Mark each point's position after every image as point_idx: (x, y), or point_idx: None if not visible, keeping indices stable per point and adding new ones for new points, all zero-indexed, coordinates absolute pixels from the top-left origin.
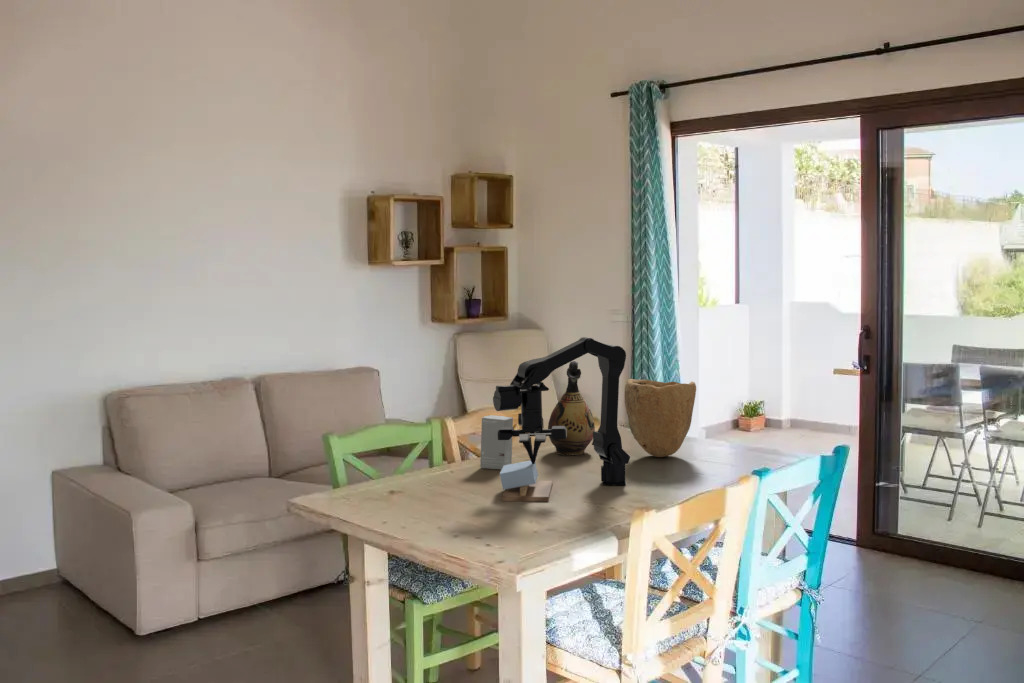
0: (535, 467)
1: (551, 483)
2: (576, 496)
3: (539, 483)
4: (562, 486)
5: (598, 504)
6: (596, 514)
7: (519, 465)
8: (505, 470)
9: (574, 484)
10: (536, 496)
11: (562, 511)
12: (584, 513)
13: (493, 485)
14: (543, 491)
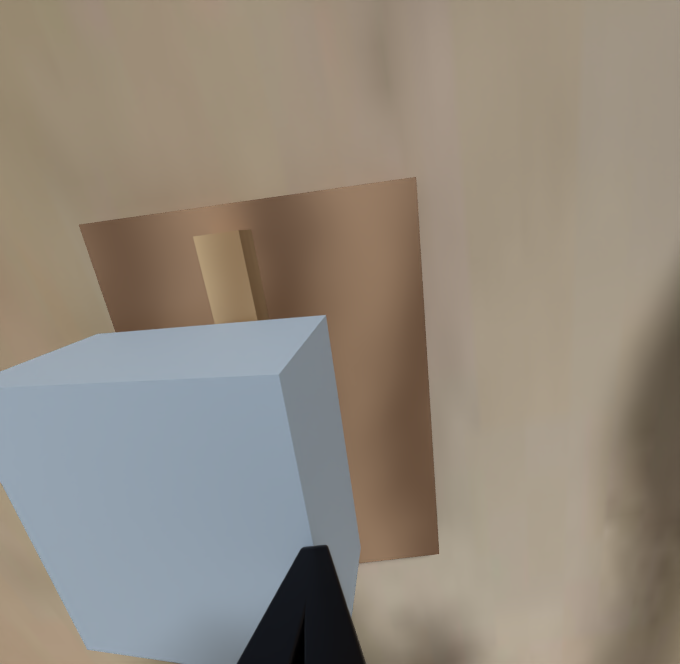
0: (315, 419)
1: (418, 263)
2: (572, 429)
3: (332, 279)
4: (482, 209)
5: (671, 538)
6: (642, 654)
7: (164, 520)
8: (91, 594)
9: (568, 129)
10: (376, 556)
11: (507, 643)
12: (596, 651)
13: (7, 266)
14: (396, 465)
